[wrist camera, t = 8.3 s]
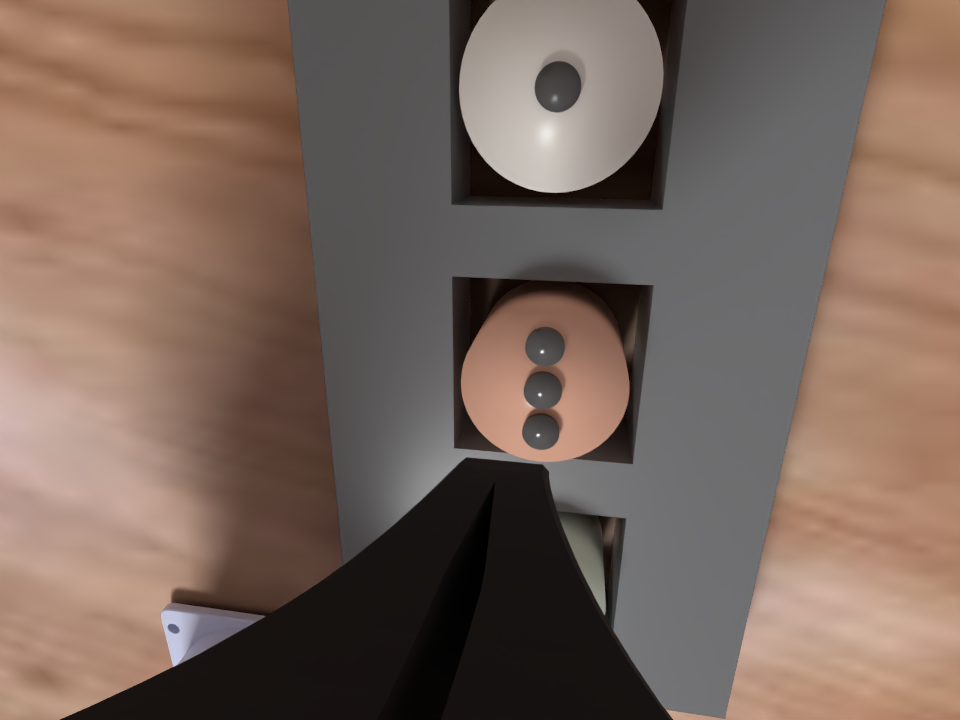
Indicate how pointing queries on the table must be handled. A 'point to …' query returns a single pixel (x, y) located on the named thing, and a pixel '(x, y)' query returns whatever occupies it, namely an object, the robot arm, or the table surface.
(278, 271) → the table surface
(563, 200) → the button board
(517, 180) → the button one dot
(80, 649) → the table surface
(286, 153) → the table surface
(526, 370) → the button three dots
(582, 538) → the button two dots
